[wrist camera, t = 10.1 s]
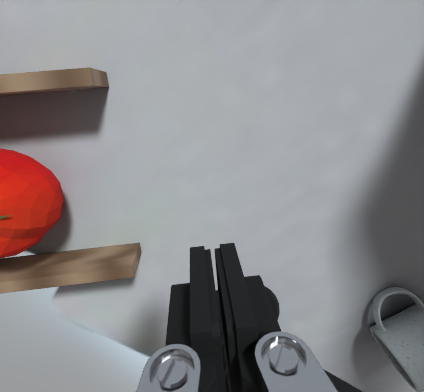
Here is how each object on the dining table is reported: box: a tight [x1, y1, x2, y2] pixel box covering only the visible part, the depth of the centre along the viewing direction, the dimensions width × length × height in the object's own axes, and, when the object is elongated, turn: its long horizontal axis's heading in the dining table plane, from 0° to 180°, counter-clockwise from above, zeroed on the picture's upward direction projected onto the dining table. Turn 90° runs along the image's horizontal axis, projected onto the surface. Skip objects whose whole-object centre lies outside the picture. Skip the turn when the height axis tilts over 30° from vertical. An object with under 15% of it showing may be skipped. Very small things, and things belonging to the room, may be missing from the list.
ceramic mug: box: [370, 287, 424, 392], centre depth 34 cm, size 11×8×8 cm
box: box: [0, 68, 141, 293], centre depth 25 cm, size 17×18×4 cm
